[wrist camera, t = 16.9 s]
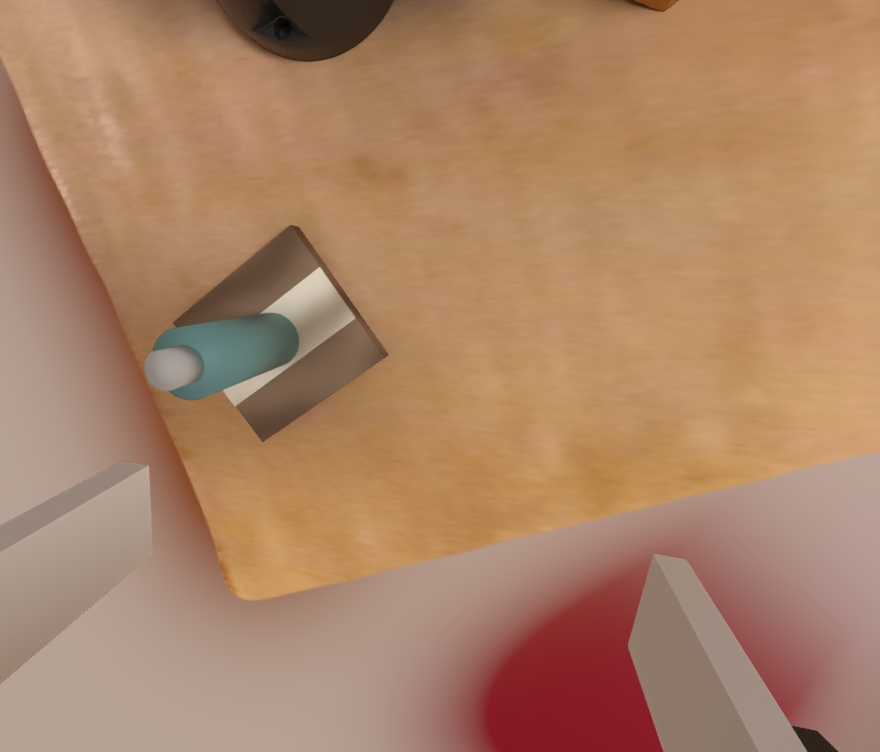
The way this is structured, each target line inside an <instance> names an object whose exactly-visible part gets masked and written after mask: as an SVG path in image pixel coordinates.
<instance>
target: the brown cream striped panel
mask: <svg viewBox="0 0 880 752" xmlns="http://www.w3.org/2000/svg"><path fill="white" fill-rule="evenodd" d="M264 313H277V314H280V315H283V316H284V317H286V318H287V319H289V320H290V321H291V322H292V324H293V325H294V326H295V328H296V330H297V333H298V336H299V348H298V352H297V354H296V356H295V357H294V358H293V359H292V360H291V361H290V362H289V363H287V364H285V365H283V366H280V367H278V368H275V369H273V370H271V371H268V372H266V373H263V374H261V375H258V376H256V377H253V378H251V379H249V380H246V381H244V382H241V383H239V384H236V385H234V386H231V387H229V388H227V389H224V390H223V392H224V393H225V394H226V396H227V397H228V398H229V400H230V401H231V402H232V404H233V405H234V406H236V407H237V409H238V410H239V411H240V413H241V414H242V415H243V417H244V418H245V419H246V421H247V422H248V423H249V425H250V426H251V427H252V429H253V430H254V431H255V433H256V434H257V435H258V437H259V438H260V439H261V441H262V442H263V441H265V440H266V439H268V438H269V437H271V436H272V435H274V434H275V433H277V432H278V431H279V430H281V429H282V428H284V427H285V426H287V425H288V424H290V423H291V422H292V421H294V420H295V419H297V418H298V417H300V416H301V415H303V414H304V413H305V412H307V411H308V410H310V409H311V408H313V407H314V406H316V405H317V404H318V403H320V402H321V401H323V400H324V399H326V398H327V397H329V396H330V395H331V394H333V393H334V392H336V391H337V390H339V389H340V388H342V387H343V386H344V385H346V384H347V383H349V382H350V381H352V380H353V379H355V378H356V377H357V376H359V375H360V374H362V373H363V372H365V371H366V370H368V369H369V368H370V367H372V366H373V365H375V364H376V363H378V362H379V361H381V360H382V359H383V358H385V357H386V356H388V354H387V352H386V351H385V349H384V348H383V346H382V345H381V344H380V342H379V341H378V339H377V338H376V336H375V335H374V334H373V332H372V331H371V329H370V328H369V326H368V325H367V324H366V322H365V321H364V319H363V318H362V316H361V315H360V314H359V312H358V311H357V309H356V308H355V306H354V305H353V304H352V302H351V301H350V299H349V298H348V296H347V295H346V294H345V292H344V291H343V289H342V288H341V286H340V285H339V284H338V282H337V281H336V279H335V278H334V277H333V275H332V274H331V272H330V271H329V269H328V268H327V267H326V265H325V264H324V262H323V261H322V259H321V258H320V257H319V255H318V254H317V252H316V251H315V249H314V248H313V247H312V245H311V244H310V242H309V241H308V239H307V238H306V237H305V235H304V234H303V232H302V231H301V229H300V228H299V227H296V226H292V225H290V226H289V227H288V228H287V229H285V230H284V231H283V232H282V233H281V234H279V235H278V236H277V237H276V238H275V239H273V240H272V241H271V242H270V243H269V244H267V245H266V246H265V247H264V248H263V249H261V250H260V251H259V252H258V253H257V254H255V255H254V256H253V257H252V258H250V259H249V260H248V261H247V262H246V263H244V264H243V265H242V266H241V267H240V268H238V269H237V270H236V271H235V272H234V273H232V274H231V275H230V276H229V277H228V278H226V279H225V280H224V281H223V282H221V283H220V284H219V285H218V286H217V287H215V288H214V289H213V290H212V291H211V292H209V293H208V294H207V295H206V296H205V297H203V298H202V299H201V300H200V301H199V302H197V303H196V304H195V305H194V306H193V307H191V308H190V309H189V310H188V311H186V312H185V313H184V314H183V315H182V316H180V317H179V318H178V319H177V320H176V321H174V322H173V324H174V325H175V326H176V328H177V327H183V326H189V325H196V324H202V323H208V322H214V321H220V320H227V319H233V318H239V317H245V316H252V315H258V314H264Z"/></svg>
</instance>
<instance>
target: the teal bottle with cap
mask: <svg viewBox="0 0 880 752" xmlns="http://www.w3.org/2000/svg"><path fill="white" fill-rule="evenodd" d="M298 348H299V336H298V333H297V330H296V328H295V326H294V325H293V324H292V322H291V321H290V320H289V319H287V318H286V317H284V316H283V315H280V314H277V313H264V314H258V315H252V316H245V317H239V318H233V319H227V320H220V321H214V322H208V323H202V324H196V325H189V326H183V327H177V328H172V329H170V330H168V331H166V332H164V333H163V334H162V335H161V336H160V337H159V338H158V340H157V341H156V343H155V345H154V348H153V352H151V353H150V354H149V355H148V356H147V357H146V359H145V362H144V373H145V376H146V378H147V380H148V381H149V383H150V384H151V385H152V386H153V387H155V388H156V389H158V390H161V391H169V392H170V393H171V394H173V395H175V396H176V397H179V398H181V399H185V400H199V399H202V398H204V397H207V396H209V395H212V394H214V393H217V392H219V391H222V390H224V389H227V388H229V387H231V386H234V385H236V384H239V383H241V382H244V381H246V380H249V379H251V378H253V377H256V376H258V375H261V374H263V373H266V372H268V371H271V370H273V369H275V368H278V367H280V366H283V365H285V364H287V363H289V362H290V361H291V360H292V359H293V358H294V357H295V356H296V354H297V352H298Z"/></svg>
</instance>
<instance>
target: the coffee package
mask: <svg viewBox="0 0 880 752" xmlns="http://www.w3.org/2000/svg"><path fill="white" fill-rule="evenodd" d="M633 1H636V2H638V3H642V4H644V5H646V6H648V7H650V8H654V9H656V10H660V11H665V10H667V9H668V8H670V7H671V6H672V5H674V4H675V3H676V2H677V1H678V0H633Z"/></svg>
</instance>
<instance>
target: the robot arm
mask: <svg viewBox="0 0 880 752" xmlns="http://www.w3.org/2000/svg"><path fill="white" fill-rule="evenodd" d="M217 1H218V3H219V4H220V5H221V7H222V8H223V10H224V11H225V12H226V13H227V15H228V16H229V17H230V18H231V19H232V20H233V21H234V22H235V23H236V24H237V25H238V26H239V27H240V28H241V29H242V30H243V31H244V32H245V33H246V34H247V35H249V36H250V37H251V38H252V39H253V40H254V41H255V42H257V43H258V44H259V45H261V46H262V47H264V48H266V49H267V50H269V51H271V52H273V53H275V54H277V55H280V56H283V57H286V58H290V59H295V60H305V61H310V60H321V59H326V58H330V57H333V56H336V55H339V54H341V53H343V52H345V51H347V50H349V49H351V48H352V47H354V46H355V45H357V44H358V43H360V42H361V41H362V40H363V39H365V38H366V37H367V36H368V35H369V34H370V33H371V32H372V31H373V30H374V29H375V28H376V27H377V25H378V24H379V23H380V22H381V20H382V19H383V18H384V16H385V14H386V13H387V11H388V10H389V8H390V6H391V4H392V2H393V0H217ZM151 555H153V539H152V520H151V501H150V479H149V465H144V464H138V463H133V462H127V461H121V462H119V463H117V464H115V465H113V466H111V467H109V468H108V469H106V470H104V471H102V472H100V473H98V474H96V475H95V476H93V477H91V478H89V479H87V480H85V481H83V482H81V483H79V484H77V485H76V486H74V487H72V488H70V489H68V490H66V491H64V492H62V493H61V494H59V495H57V496H55V497H53V498H51V499H49V500H48V501H46V502H44V503H42V504H40V505H38V506H36V507H35V508H32V509H31V510H29V511H27V512H25V513H23V514H22V515H19V516H18V517H15V518H14V519H12V520H10V521H8V522H6V523H4V524H3V525H0V684H1V683H2V682H3V681H5V680H6V679H7V678H8V677H9V676H10V675H12V674H13V673H14V672H15V671H16V670H17V669H19V668H20V667H21V666H22V665H23V664H24V663H26V662H27V661H28V660H29V659H30V658H31V657H33V656H34V655H35V654H36V653H37V652H39V651H40V650H41V649H42V648H43V647H44V646H46V645H47V644H48V643H49V642H50V641H51V640H53V639H54V638H55V637H56V636H57V635H59V634H60V633H61V632H62V631H63V630H64V629H66V628H67V627H68V626H69V625H70V624H72V622H74V621H75V620H76V619H77V618H79V617H80V616H81V615H82V614H83V613H84V612H86V611H87V610H88V609H89V608H90V607H91V606H93V605H94V604H95V603H96V602H97V601H99V600H100V599H101V598H102V597H103V596H104V595H106V594H107V593H108V592H109V591H110V590H111V589H112V588H114V587H115V586H116V585H117V584H119V583H120V582H121V581H122V580H123V579H124V578H125V577H127V576H128V575H129V574H130V573H131V572H133V571H134V570H135V569H136V568H137V567H139V566H140V565H141V564H142V563H143V562H144V561H146V560H147V559H148V558H149V557H150V556H151ZM628 648H629V651H630V654H631V657H632V660H633V663H634V666H635V669H636V672H637V674H638V677H639V680H640V683H641V686H642V689H643V692H644V695H645V698H646V701H647V704H648V707H649V710H650V713H651V716H652V719H653V722H654V725H655V728H656V731H657V734H658V737H659V740H660V742H661V746H662V749H663V751H664V752H838V751H837V750H836V749H835V748H834V747H833V746H832V745H831V744H830V743H829V742H828V741H827V740H826V739H825V738H824V737H823V736H822V735H821V734H819V733H818V731H815V730H810V729H805V728H800V727H795V726H791V725H790V723H789V722H788V720H787V718H786V717H785V716H784V714H783V712H782V711H781V709H780V707H779V706H778V704H777V703H776V701H775V699H774V698H773V696H772V695H771V693H770V692H769V690H768V689H767V687H766V685H765V684H764V682H763V680H762V679H761V677H760V676H759V674H758V673H757V671H756V669H755V668H754V666H753V665H752V663H751V661H750V660H749V658H748V657H747V655H746V654H745V652H744V650H743V649H742V647H741V646H740V644H739V642H738V641H737V639H736V638H735V636H734V635H733V633H732V631H731V630H730V628H729V627H728V625H727V623H726V622H725V620H724V619H723V617H722V616H721V614H720V613H719V611H718V609H717V608H716V606H715V605H714V603H713V601H712V600H711V598H710V597H709V595H708V593H707V592H706V590H705V589H704V587H703V586H702V584H701V582H700V581H699V579H698V578H697V576H696V574H695V573H694V571H693V570H692V568H691V566H690V565H689V563H688V562H687V560H685V559H680V558H674V557H668V556H662V555H657V554H653V557H652V561H651V565H650V568H649V572H648V575H647V579H646V582H645V586H644V590H643V593H642V597H641V600H640V604H639V607H638V611H637V615H636V618H635V622H634V626H633V629H632V633H631V636H630V640H629V643H628Z"/></svg>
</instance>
